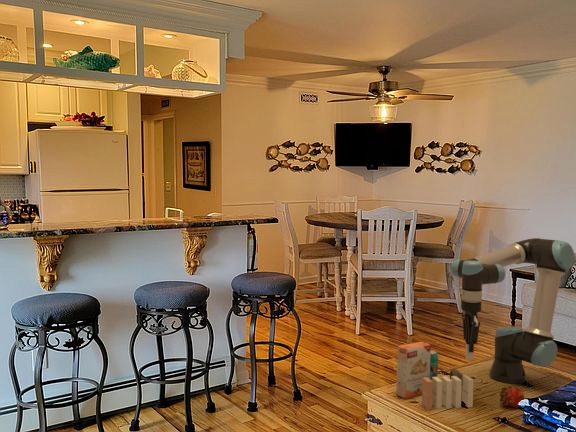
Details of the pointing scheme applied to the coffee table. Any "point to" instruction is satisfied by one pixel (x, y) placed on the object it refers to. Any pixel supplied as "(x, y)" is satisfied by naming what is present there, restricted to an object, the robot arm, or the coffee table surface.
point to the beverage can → (433, 364)
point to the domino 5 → (467, 391)
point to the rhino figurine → (456, 374)
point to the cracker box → (412, 368)
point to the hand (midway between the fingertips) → (469, 359)
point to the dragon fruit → (511, 396)
